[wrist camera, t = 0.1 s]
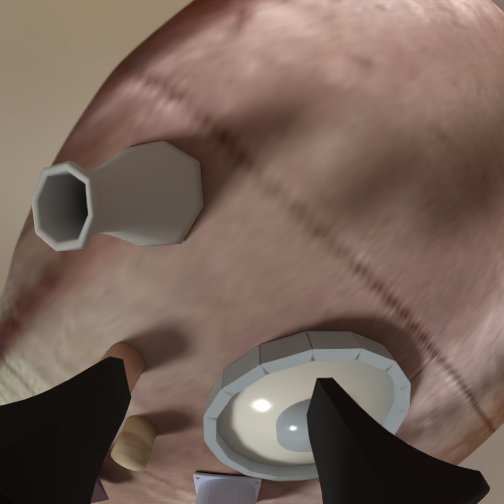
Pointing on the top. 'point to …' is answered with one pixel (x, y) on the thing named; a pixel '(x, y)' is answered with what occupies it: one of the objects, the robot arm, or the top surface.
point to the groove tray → (296, 399)
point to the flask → (120, 198)
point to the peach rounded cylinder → (128, 361)
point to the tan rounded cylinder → (134, 443)
